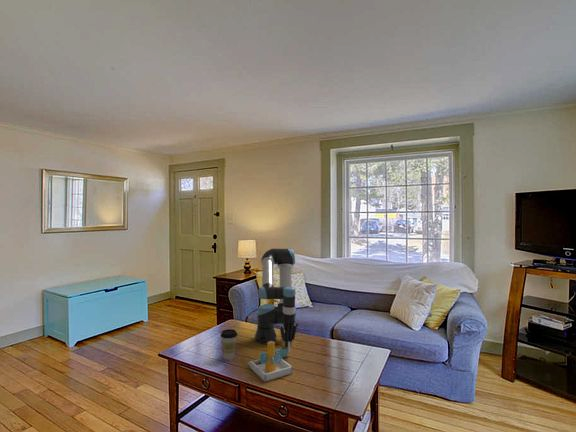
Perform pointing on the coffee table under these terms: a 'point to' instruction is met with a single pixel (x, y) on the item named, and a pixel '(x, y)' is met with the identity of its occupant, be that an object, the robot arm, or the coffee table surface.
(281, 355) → the gate
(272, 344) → the orange tube with rings
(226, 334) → the coffee cup
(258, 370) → the white square tray
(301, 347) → the coffee table surface
